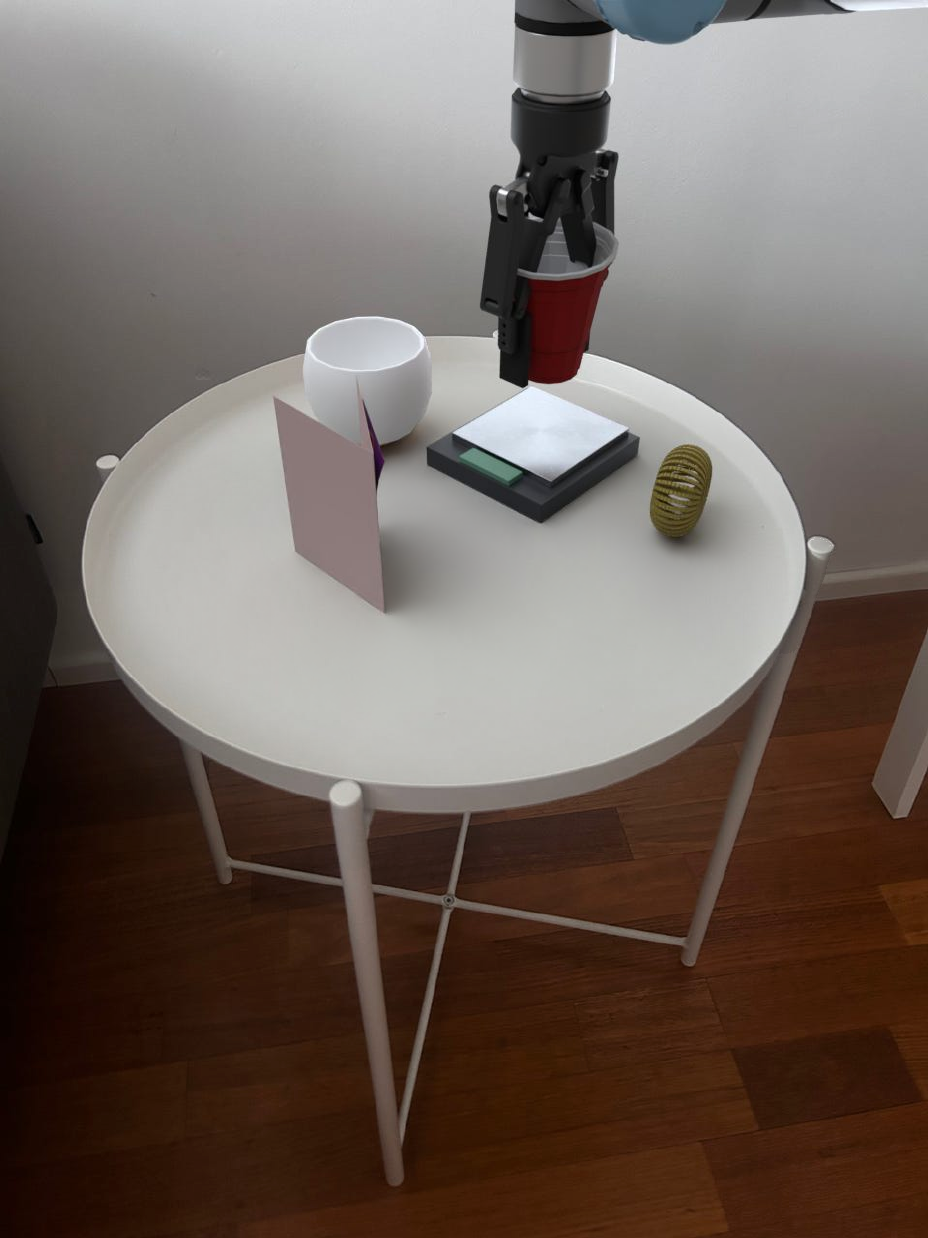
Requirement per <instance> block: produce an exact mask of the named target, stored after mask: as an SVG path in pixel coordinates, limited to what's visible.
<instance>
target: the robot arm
mask: <svg viewBox="0 0 928 1238" xmlns="http://www.w3.org/2000/svg"><path fill="white" fill-rule="evenodd" d="M922 8H923V9H924V8H925V9H926V8H928V0H514V21H513V23H514V39H513V43H514V45H513V67H512V81H513V83H514V84H515V85H516V86H517V88H515V90H514V91H513V93H511V101H510V102H511V104H510V105H511V106H510V109H511V110H510V140H511V142H512V144H513V145H514V146H515V148H516V150H517V151H518V154H519V161H518V166H517V169H516V171H515V172H516V173H515V176H514V180H513V181H511V182H510V183H508V184H507V185H506V186H503V185H499V184H493V185H492V186H491V187H490V189H489V192H488V194H489V195H488V197H489V198H488V199H489V207H490V223H489V231H488V239H487V246H486V247H487V248H486V254H485V262H484V271H483V276H482V277H483V278H482V284H481V285H482V286H481V292H480V300H479V309H480V311H482V312H485V313H487V314H490V315H492V316H495V317H497V318H498V319H497V347H498V350H499V376H498V377H499V379H500V380H503V381H505V382H508V383H510V384H512V385H514V386H517V387H519V388H521V389H525V388H526V387H528V386H529V361H530V341H531V321H532V315H530V314H527V313H525V311H526V307H527V304H528V301H529V297H530V294H531V288H530V283H529V280H528V278H527V277H523V276H520V275H517V271H518V269H522V270H526V271H529V272H533V273H537V270H538V267H539V264H540V260H541V257H542V254H543V250H544V247H545V243H546V240H547V237H548V236H550V235H552V234H553V233H554V231H555V228H556V225H557V221H558V219H559V218H560V220H561V224H562V228H563V232H564V237H565V241H566V245H567V249H568V254H569V258H570V261H571V262H573V263H574V264H575V260H577V261H580V262H583V263H585V264H586V265H587V266H588V268H591V267H592V265H593V261H594V254H595V251H596V244H597V241H596V236H595V231H594V227H593V222H596V223H597V224H599V225H601V226H603V227H604V228H606V229H608V230H610V231H611V232H612V233H613V235H614V236H615V179H616V174H617V169H618V165H619V164H618V163H619V157H620V155H619V153H618V152H617V151H614V150H611V149H607V148H603V147H604V146H605V145H606V143H607V141H608V136H609V125H610V115H611V104H612V97H611V95H610V94H609V92H608V91H607V90H608V89H609V88H610V87H612V85H613V83H614V79H615V65H616V54H617V53H616V52H617V38H618V33H620V34H621V35H628V37H629V38H630V39H632V40H636V41H641V42H649V43H652V44H656V45H663V46H671V45H677V44H681V43H684V42H687V41H688V40H690V39H691V38H692V37H694V36H697V35H698V34H699V33H700V32H702V31H703V30H704V29H706V28H707V27H709V26H710V25H715V24H716V25H717V24H727V23H737V22H742V21H743V22H747V21H750V20H761V19H763V20H764V19H778V18H791V17H793V18H794V17H803V16H805V17H807V16H819V15H824V16H825V15H845V14H851V13H856V12H870V11H887V10H889V11H890V10H904V9H922ZM529 215H531V216H533V217H534V218H535V217H538V218H541V219H544V220H543V221H542V222H539V221H536V220H533V219H530V218H531V217H530V216H529ZM613 263H614V261H612V263H611V264H610V266H611V265H612V264H613ZM609 274H610V271H609V269H608V272H607V275H606V276H605V279H604V282H606V281H607V279H608V277H609ZM513 298H514V299H515V302H514V301H513ZM590 338H591V333H590V334H589V338H588V342H587V343H586V345H585V349H584V353H586V352H588V351H589V350H590Z"/></svg>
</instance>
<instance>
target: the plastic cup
mask: <svg viewBox="0 0 928 1238" xmlns="http://www.w3.org/2000/svg"><path fill="white" fill-rule="evenodd" d="M529 218H530V219H533V220H536V221H539V222H542V221H543V220H544V219H541V218H538V217H535V216H534V217H529ZM593 227H594V231H595V236H596V241H597V244H596V251H595V254H594V261H593V265H592V267H591V268H588V266H587V265H586V264H585V263H583V262H580V261H577V260H575V264H574V263H573V262H571V261H570V258H569V254H568V249H567V245H566V241H565V237H564V232H563V228H562V224H561V220H560V218H559V219H558V221H557V225H556V228H555V231H554V233H553V234H552V235H550V236H548V237H547V240H546V243H545V247H544V250H543V254H542V257H541V260H540V264H539V267H538V270H537V273H533V272H529V271H526V270H522V269H518V271H517V275H520V276H523V277H527V278H528V280H529V283H530V288H531V294H530V297H529V301H528V304H527V307H526V311H525V313H527V314H530V315H532V321H531V341H530V361H529V381H530V382H532V383H535V384H542V385H555V384H563V383H565V382H568V381H571V380H573V379H574V378H575V377H576V376H577V375H578V372H579V370H580V369H581V364H582V361H583V358H584V357H583V356H584V353H585V352H584V349H585V345H586V343H587V342H588V338H589V334H590V335H591V329H592V325H593V321H594V319H595V314H596V310H597V306H598V303H599V298H600V295H601V291H602V287H604V283H605V281H604V279H605V276H606V275H607V272H608V270H609V268H610V267H611V265H612V264H613V263H612V261H613V262H614V261H615V260H616V258H617V255H618V250H619V245H620V243H619V240H618V239H617V238H616V236H615V234H614V235H613V233H612V232H611V231H610V230H608V229H606V228H604V227H603V226H601V225H599V224H597V223H596V222H593ZM611 263H612V264H611ZM610 264H611V265H610ZM513 301H514V302H515V299H514V298H513ZM529 381H528V382H529Z"/></svg>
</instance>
